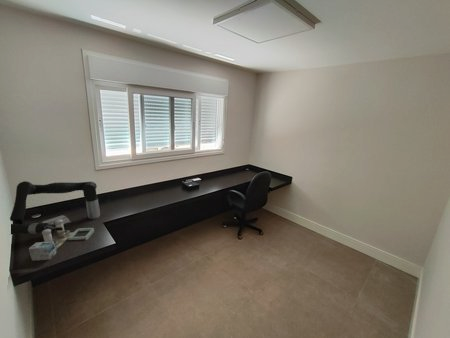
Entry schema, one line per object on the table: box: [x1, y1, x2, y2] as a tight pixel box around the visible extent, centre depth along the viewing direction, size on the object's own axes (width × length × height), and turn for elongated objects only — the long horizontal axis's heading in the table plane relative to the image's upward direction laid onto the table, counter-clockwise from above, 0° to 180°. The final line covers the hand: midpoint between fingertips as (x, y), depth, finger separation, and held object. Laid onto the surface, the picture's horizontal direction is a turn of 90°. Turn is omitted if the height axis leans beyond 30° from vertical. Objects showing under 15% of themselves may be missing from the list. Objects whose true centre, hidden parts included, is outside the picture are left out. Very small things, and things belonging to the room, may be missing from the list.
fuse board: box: [52, 229, 75, 251], centre depth 144 cm, size 21×12×4 cm, turn 9°
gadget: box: [41, 215, 71, 227], centre depth 168 cm, size 23×15×4 cm, turn 56°
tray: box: [67, 227, 95, 242], centre depth 153 cm, size 12×12×4 cm
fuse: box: [41, 229, 53, 242], centre depth 136 cm, size 5×5×13 cm
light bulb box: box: [28, 241, 57, 262], centre depth 128 cm, size 11×7×11 cm, turn 100°
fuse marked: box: [55, 219, 66, 235], centre depth 149 cm, size 5×5×13 cm
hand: (64, 227), depth 149 cm, fingers closed on fuse marked, 4 cm apart
